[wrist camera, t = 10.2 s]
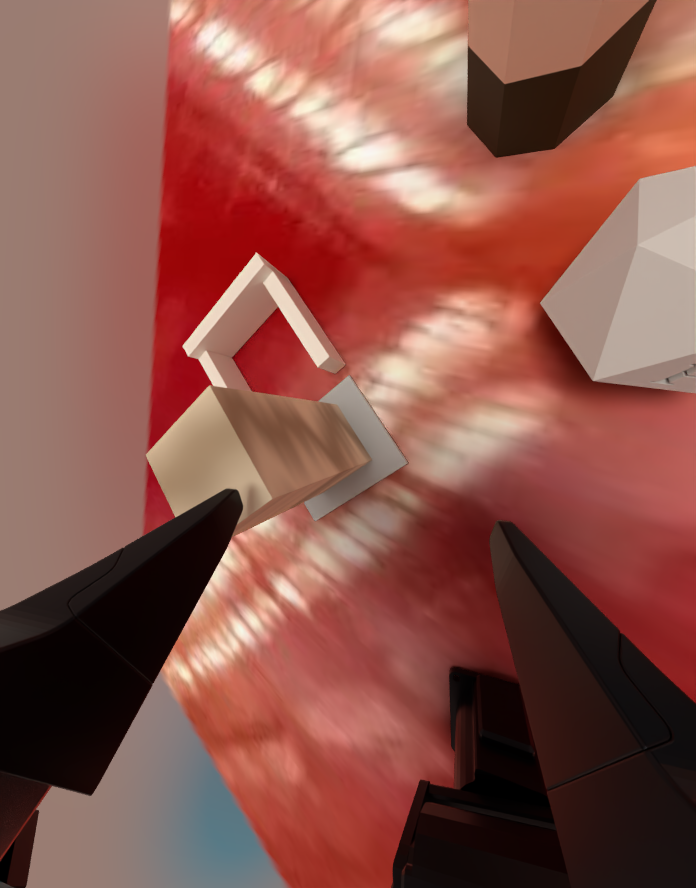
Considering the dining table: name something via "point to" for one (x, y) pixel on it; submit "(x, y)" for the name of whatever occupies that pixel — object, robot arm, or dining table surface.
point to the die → (636, 289)
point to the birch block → (255, 452)
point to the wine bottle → (545, 66)
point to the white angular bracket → (255, 324)
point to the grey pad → (374, 442)
